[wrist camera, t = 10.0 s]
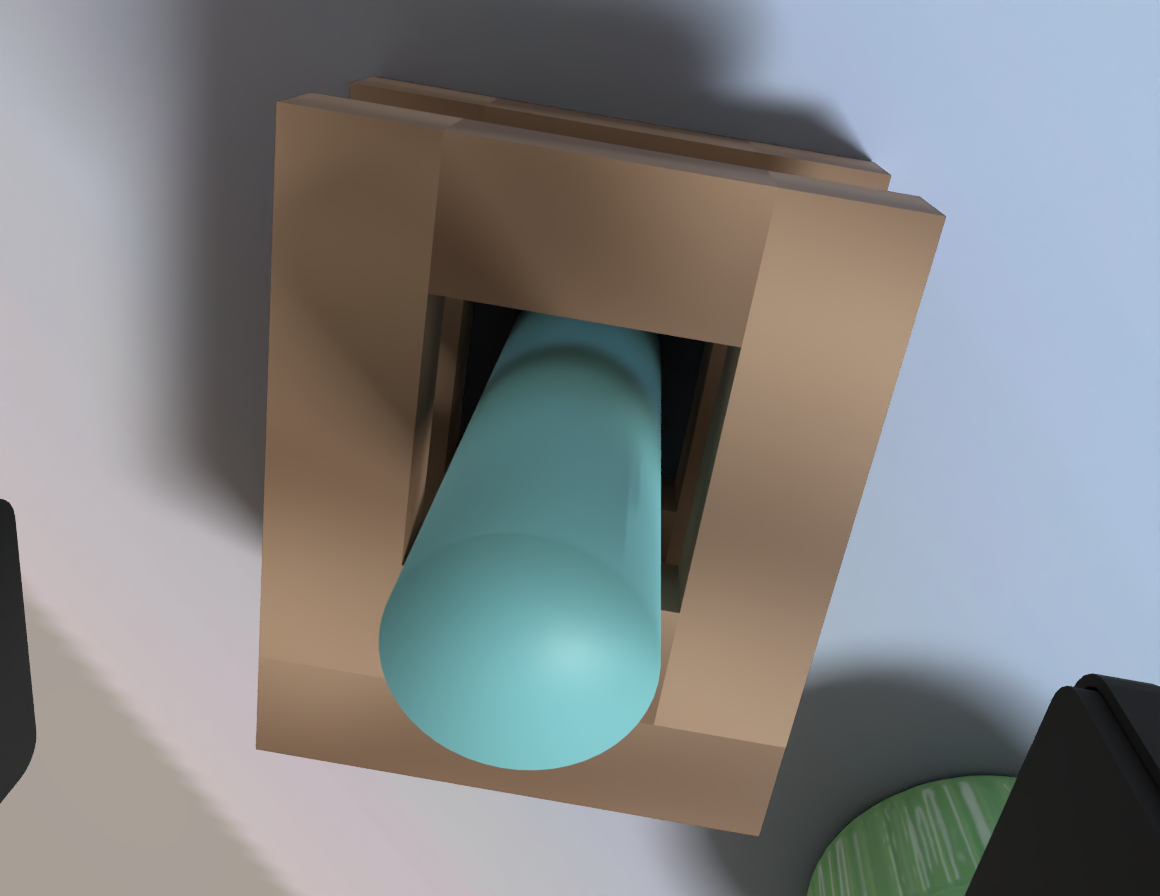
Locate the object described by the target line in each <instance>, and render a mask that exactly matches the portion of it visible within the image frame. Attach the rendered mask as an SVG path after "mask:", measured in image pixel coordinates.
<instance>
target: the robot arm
mask: <svg viewBox="0 0 1160 896" xmlns="http://www.w3.org/2000/svg"><path fill="white" fill-rule="evenodd" d="M35 743H36V724H35V715H34V704H33V695H32V684H31V674H30V663H29V654H28V643H27V633H26V623H25V612H24V602H23V592H22V582H21V572H20V562H19V551H18V541H17V531H16V521H15V515H14V510H13V508H12V506H11V505H10V503H9V502H7V501H6V500H4V499H0V803H1V802H2V801H3V799H4V798H5V797H6V796H7V794H8V793H9V792H10V791H11V789H12V788H13V787H14V786H15V784H16V783H17V782H18V781H19V780H20V778H21V777H22V775H23V774H24V772H25V771H26V769H27V767H28V765H29V763H30V761H31V758H32V755H33V752H34V748H35ZM965 896H1160V687H1159V686H1157V685H1154V684H1150V683H1144V682H1138V681H1132V680H1127V679H1121V678H1115V677H1110V676H1104V675H1098V674H1088V675H1084V676H1083V677H1082V678H1081V679H1080V680H1079V681H1077V683H1076V685H1075V686H1074V687H1071V686H1065V687H1061V688H1060V689H1059V690H1058V691H1057V692H1056V693H1055V695H1054V697H1053V698H1052V700H1051V703H1050V705H1049V707H1048V709H1047V712H1046V714H1045V716H1044V718H1043V721H1042V723H1041V725H1040V727H1039V730H1038V732H1037V734H1036V736H1035V739H1034V741H1033V743H1032V745H1031V747H1030V750H1029V752H1028V754H1027V756H1026V759H1025V761H1024V763H1023V765H1022V768H1021V770H1020V772H1019V774H1018V777H1017V779H1016V781H1015V783H1014V786H1013V788H1012V790H1011V792H1010V795H1009V797H1008V799H1007V801H1006V804H1005V806H1004V808H1003V810H1002V813H1001V815H1000V817H999V819H998V822H997V824H996V826H995V828H994V831H993V833H992V835H991V837H990V840H989V842H988V844H987V846H986V848H985V851H984V853H983V855H982V857H981V860H980V862H979V864H978V866H977V869H976V871H975V873H974V875H973V878H972V880H971V882H970V884H969V887H968V889H967V891H966V893H965Z"/></svg>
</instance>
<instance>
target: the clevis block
mask: <svg viewBox="0 0 1160 896" xmlns="http://www.w3.org/2000/svg"><path fill="white" fill-rule="evenodd" d="M890 178H891V175H890V174H889V173H888V172H886V171H885V170H884V169H882V168H881V167H880V166H878V165H877V164H876V163H874V162H870V161H864V160H858V159H852V158H847V157H841V156H835V155H829V154H823V153H817V152H812V151H806V150H800V149H794V148H788V147H782V146H777V145H771V144H765V143H759V142H753V141H747V140H741V139H736V138H730V137H724V136H718V135H712V134H706V133H701V132H695V131H689V130H683V129H677V128H671V127H666V126H660V125H654V124H648V123H642V122H636V121H631V120H625V119H619V118H613V117H607V116H601V115H596V114H590V113H584V112H578V111H572V110H566V109H561V108H555V107H549V106H543V105H537V104H531V103H526V102H520V101H514V100H508V99H502V98H496V97H490V96H485V95H479V94H473V93H467V92H461V91H455V90H450V89H444V88H438V87H432V86H426V85H420V84H415V83H409V82H403V81H397V80H391V79H385V78H380V77H374V76H373V77H369V78H366V79H362V80H358V81H354V82H350V90H349V99H347V98H341V97H336V96H330V95H324V94H318V93H308V94H304V95H300V96H296V97H292V98H288V99H284V100H281V101H277V102H276V132H275V164H274V196H273V227H272V259H271V290H270V322H269V353H268V385H267V417H266V448H265V480H264V511H263V543H262V575H261V606H260V638H259V670H258V701H257V733H256V749H258V750H264V751H269V752H275V753H281V754H287V755H292V756H298V757H304V758H310V759H315V760H321V761H327V762H333V763H339V764H344V765H350V766H356V767H362V768H367V769H373V770H379V771H385V772H390V773H396V774H402V775H408V776H413V777H419V778H425V779H431V780H436V781H442V782H448V783H454V784H459V785H465V786H471V787H477V788H483V789H488V790H494V791H500V792H506V793H511V794H517V795H523V796H529V797H534V798H540V799H546V800H552V801H557V802H563V803H569V804H575V805H580V806H586V807H592V808H598V809H604V810H609V811H615V812H621V813H627V814H632V815H638V816H644V817H650V818H655V819H661V820H667V821H673V822H678V823H684V824H690V825H696V826H701V827H707V828H713V829H719V830H724V831H730V832H736V833H742V834H748V835H753V836H759V834H760V831H761V828H762V825H763V821H764V818H765V815H766V811H767V808H768V805H769V801H770V798H771V795H772V791H773V788H774V785H775V782H776V778H777V775H778V772H779V768H780V765H781V762H782V758H783V755H784V752H785V748H786V745H787V742H788V738H789V735H790V732H791V729H792V725H793V722H794V719H795V715H796V712H797V709H798V705H799V702H800V699H801V695H802V692H803V689H804V686H805V682H806V679H807V676H808V672H809V669H810V666H811V662H812V659H813V656H814V652H815V649H816V646H817V642H818V639H819V636H820V633H821V629H822V626H823V623H824V619H825V616H826V613H827V609H828V606H829V603H830V599H831V596H832V593H833V589H834V586H835V583H836V580H837V576H838V573H839V570H840V566H841V563H842V560H843V556H844V553H845V550H846V546H847V543H848V540H849V537H850V533H851V530H852V527H853V523H854V520H855V517H856V513H857V510H858V507H859V503H860V500H861V497H862V493H863V490H864V487H865V484H866V480H867V477H868V474H869V470H870V467H871V464H872V460H873V457H874V454H875V450H876V447H877V444H878V441H879V437H880V434H881V431H882V427H883V424H884V421H885V417H886V414H887V411H888V407H889V404H890V401H891V397H892V394H893V391H894V388H895V384H896V381H897V378H898V374H899V371H900V368H901V364H902V361H903V358H904V354H905V351H906V348H907V345H908V341H909V338H910V335H911V331H912V328H913V325H914V321H915V318H916V315H917V311H918V308H919V305H920V301H921V298H922V295H923V292H924V288H925V285H926V282H927V278H928V275H929V272H930V268H931V265H932V262H933V258H934V255H935V252H936V249H937V245H938V242H939V239H940V235H941V232H942V229H943V225H944V222H945V219H946V216H945V215H944V214H942V213H941V212H940V211H938V210H937V209H936V208H934V207H933V206H932V205H930V204H929V203H928V202H926V201H925V200H924V199H922V198H921V197H919V196H913V195H907V194H902V193H896V192H890V191H887V189H888V186H889V182H890ZM475 302H479V303H485V304H491V305H497V306H503V307H509V308H514V309H520V310H526V311H532V312H538V313H543V314H549V315H555V316H561V317H567V318H572V319H578V320H584V321H590V322H596V323H602V324H607V325H613V326H619V327H625V328H631V329H636V330H642V331H648V332H654V333H660V334H666V335H671V336H677V337H683V338H689V339H695V340H700V341H705V345H704V349H703V354H702V359H701V363H700V368H699V372H698V377H697V382H696V386H695V391H694V396H693V400H692V405H691V409H690V414H689V419H688V423H687V428H686V433H685V437H684V442H683V446H682V451H681V456H680V460H679V465H678V470H677V474H676V479H672V478H666V477H661V668H660V675H659V682H658V685H657V688H656V692H655V695H654V698H653V700H652V702H651V704H650V706H649V708H648V710H647V712H646V713H645V714H644V716H643V717H642V719H641V720H640V722H639V723H638V724H637V725H636V726H635V727H634V728H633V729H632V731H631V732H630V733H629V734H628V735H627V736H625V737H624V738H623V739H622V740H621V741H619V742H618V743H617V744H616V745H614V746H612V747H611V748H609V749H608V750H606V751H604V752H603V753H601V754H599V755H597V756H594V757H592V758H590V759H588V760H585V761H582V762H579V763H576V764H573V765H569V766H564V767H559V768H554V769H544V770H515V769H507V768H500V767H495V766H491V765H487V764H483V763H480V762H477V761H474V760H471V759H468V758H466V757H464V756H461V755H459V754H457V753H455V752H453V751H451V750H449V749H447V748H446V747H444V746H442V745H441V744H439V743H437V742H436V741H435V740H433V739H432V738H431V737H429V736H428V735H427V734H425V733H424V732H423V731H422V730H421V729H420V728H419V727H417V726H416V725H415V724H414V723H413V722H412V721H411V720H410V719H409V717H408V716H407V715H406V714H405V712H404V711H403V710H402V709H401V708H400V706H399V704H398V703H397V701H396V700H395V698H394V696H393V695H392V693H391V691H390V689H389V687H388V684H387V682H386V680H385V677H384V674H383V670H382V667H381V662H380V655H379V630H380V624H381V618H382V615H383V612H384V609H385V606H386V604H387V601H388V599H389V597H390V595H391V593H392V590H393V588H394V586H395V584H396V582H397V580H398V577H399V575H400V573H401V571H402V569H403V566H404V564H405V562H406V560H407V558H408V555H409V553H410V551H411V549H412V547H413V545H414V542H415V540H416V538H417V536H418V534H419V531H420V529H421V527H422V525H423V523H424V520H425V518H426V516H427V514H428V512H429V510H430V507H431V505H432V503H433V501H434V499H435V496H436V494H437V492H438V490H439V488H440V485H441V483H442V481H443V479H444V477H445V474H446V472H447V470H448V468H449V466H450V464H451V461H452V459H453V457H454V455H455V453H456V450H457V448H458V446H459V444H460V442H458V440H459V431H460V423H461V414H462V406H463V397H464V389H465V380H466V371H467V363H468V354H469V346H470V337H471V329H472V320H473V311H474V303H475Z"/></svg>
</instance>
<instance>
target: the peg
mask: <svg viewBox="0 0 1160 896" xmlns="http://www.w3.org/2000/svg"><path fill="white" fill-rule="evenodd" d="M379 655H380V662H381V667H382V670H383V674H384V677H385V680H386V682H387V684H388V687H389V689H390V691H391V693H392V695H393V696H394V698H395V700H396V701H397V703H398V704H399V706H400V708H401V709H402V710H403V711H404V712H405V714H406V715H407V716H408V717H409V719H410V720H411V721H412V722H413V723H414V724H415V725H416V726H417V727H419V728H420V729H421V730H422V731H423V732H424V733H425V734H427V735H428V736H429V737H431V738H432V739H433V740H435V741H436V742H437V743H439V744H441V745H442V746H444V747H446V748H447V749H449V750H451V751H453V752H455V753H457V754H459V755H461V756H464V757H466V758H468V759H471V760H474V761H477V762H480V763H483V764H487V765H491V766H495V767H500V768H507V769H515V770H544V769H554V768H559V767H564V766H569V765H573V764H576V763H579V762H582V761H585V760H588V759H590V758H592V757H594V756H597V755H599V754H601V753H603V752H604V751H606V750H608V749H609V748H611V747H612V746H614V745H616V744H617V743H618V742H619V741H621V740H622V739H623V738H624V737H625V736H627V735H628V734H629V733H630V732H631V731H632V729H633V728H634V727H635V726H636V725H637V724H638V723H639V722H640V720H641V719H642V717H643V716H644V714H645V713H646V712H647V710H648V708H649V706H650V704H651V702H652V700H653V698H654V695H655V692H656V688H657V685H658V682H659V675H660V668H661V348H660V341H659V338H658V334H657V333H654V332H648V331H642V330H636V329H631V328H625V327H619V326H613V325H607V324H602V323H596V322H590V321H584V320H578V319H572V318H567V317H561V316H555V315H549V314H543V313H538V312H532V311H526V310H523V311H522V312H521V313H520V315H519V316H518V318H517V320H516V322H515V324H514V326H513V328H512V330H511V332H510V334H509V337H508V339H507V341H506V343H505V345H504V348H503V350H502V352H501V354H500V356H499V359H498V361H497V363H496V365H495V367H494V369H493V372H492V374H491V376H490V378H489V380H488V383H487V385H486V387H485V389H484V391H483V394H482V396H481V398H480V400H479V402H478V404H477V407H476V409H475V411H474V413H473V415H472V418H471V420H470V422H469V424H468V426H467V429H466V431H465V433H464V435H463V437H462V439H461V442H460V444H459V446H458V448H457V450H456V453H455V455H454V457H453V459H452V461H451V464H450V466H449V468H448V470H447V472H446V474H445V477H444V479H443V481H442V483H441V485H440V488H439V490H438V492H437V494H436V496H435V499H434V501H433V503H432V505H431V507H430V510H429V512H428V514H427V516H426V518H425V520H424V523H423V525H422V527H421V529H420V531H419V534H418V536H417V538H416V540H415V542H414V545H413V547H412V549H411V551H410V553H409V555H408V558H407V560H406V562H405V564H404V566H403V569H402V571H401V573H400V575H399V577H398V580H397V582H396V584H395V586H394V588H393V590H392V593H391V595H390V597H389V599H388V601H387V604H386V606H385V609H384V612H383V615H382V618H381V624H380V630H379Z"/></svg>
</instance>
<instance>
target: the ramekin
mask: <svg viewBox="0 0 1160 896" xmlns="http://www.w3.org/2000/svg"><path fill="white" fill-rule="evenodd" d="M1016 779H1017V778H1016V777H1008V776H990V775H984V776H964V777H956V778H950V779H943V780H939V781H934V782H930V783H927V784H922V785H918V786H915V787H913V788H911V789H908V790H906V791H903V792H901V793H898V794H896V795H894V796H891V797H889V798H887V799H885V800H883V801H882V802H880V803H878V804H876V805H874V806H873V807H871V808H870V809H868V810H867V811H865V812H864V813H862V814H861V815H859V816H858V817H857V818H855V819H854V820H853V821H852V822H851V823H849V824H848V825H847V826H846V827H845V828H844V829H843V830H842V831H841V832H840V833H839V834H838V835H837V836H836V838H835V839H834V840H833V841H832V842H831V843H830V845H829V846H828V847H827V848H826V850H825V852H824V854H823V855H822V857H821V858H820V860H819V861H818V863H817V865H816V868H815V870H814V873H813V875H812V878H811V880H810V884H809V888H808V892H807V896H965V893H966V891H967V889H968V887H969V884H970V882H971V880H972V878H973V875H974V873H975V871H976V869H977V866H978V864H979V862H980V860H981V857H982V855H983V853H984V851H985V848H986V846H987V844H988V842H989V840H990V837H991V835H992V833H993V831H994V828H995V826H996V824H997V822H998V819H999V817H1000V815H1001V813H1002V810H1003V808H1004V806H1005V804H1006V801H1007V799H1008V797H1009V795H1010V792H1011V790H1012V788H1013V786H1014V783H1015V781H1016Z"/></svg>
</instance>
